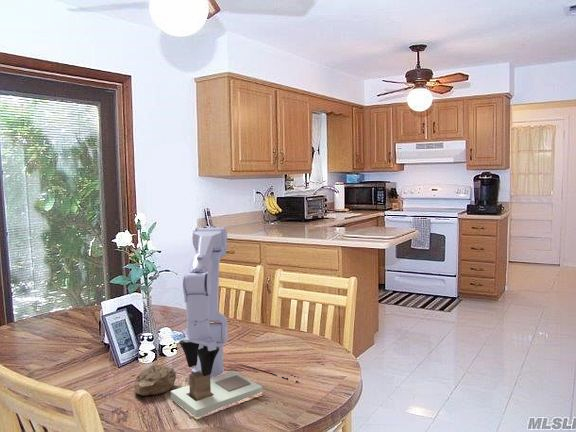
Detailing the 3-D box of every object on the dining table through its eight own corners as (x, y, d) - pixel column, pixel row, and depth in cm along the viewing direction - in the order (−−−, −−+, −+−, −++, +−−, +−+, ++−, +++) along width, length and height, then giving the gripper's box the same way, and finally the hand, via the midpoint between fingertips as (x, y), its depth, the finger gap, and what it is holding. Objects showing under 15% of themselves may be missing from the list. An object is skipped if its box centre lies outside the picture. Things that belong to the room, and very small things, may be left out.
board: (170, 400, 128) (170, 389, 127) (234, 379, 140) (234, 370, 140) (196, 420, 117) (196, 409, 117) (262, 395, 129) (262, 385, 129)
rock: (155, 403, 126) (154, 384, 126) (123, 396, 131) (122, 378, 130) (185, 383, 138) (185, 366, 138) (155, 377, 143) (155, 361, 142)
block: (189, 403, 126) (189, 373, 125) (203, 398, 128) (202, 369, 128) (197, 408, 123) (196, 378, 122) (211, 404, 125) (210, 374, 124)
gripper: (171, 315, 127) (172, 366, 128) (197, 328, 115) (199, 383, 116) (195, 311, 131) (196, 359, 132) (223, 322, 120) (224, 375, 121)
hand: (199, 370), depth 125 cm, fingers open, 7 cm apart
